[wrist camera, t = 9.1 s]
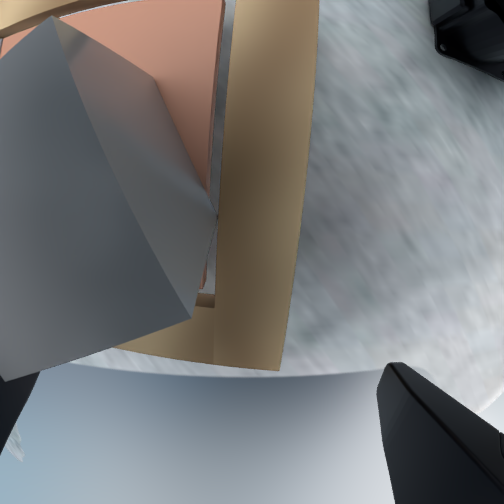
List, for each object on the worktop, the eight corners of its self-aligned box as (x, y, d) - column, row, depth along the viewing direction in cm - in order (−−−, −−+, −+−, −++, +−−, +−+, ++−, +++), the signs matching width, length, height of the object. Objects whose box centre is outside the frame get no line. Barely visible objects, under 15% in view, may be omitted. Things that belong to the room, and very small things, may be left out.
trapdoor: (225, 5, 8) (222, -7, 7) (206, 278, 12) (202, 290, 11) (1, 47, 8) (-12, 44, 8) (0, 253, 12) (-12, 261, 11)
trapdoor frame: (300, 18, 15) (320, -66, 6) (276, 276, 20) (279, 371, 12) (62, 35, 15) (-27, 6, 7) (57, 252, 20) (-25, 307, 12)
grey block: (152, 77, 8) (51, 14, 3) (217, 217, 10) (191, 319, 4) (36, 153, 9) (-95, 185, 3) (95, 274, 11) (5, 381, 5)
